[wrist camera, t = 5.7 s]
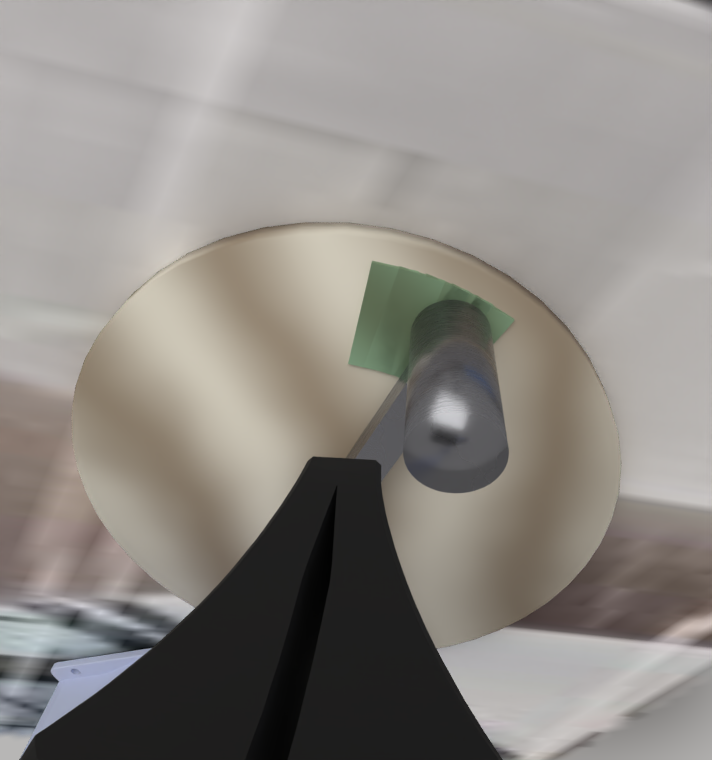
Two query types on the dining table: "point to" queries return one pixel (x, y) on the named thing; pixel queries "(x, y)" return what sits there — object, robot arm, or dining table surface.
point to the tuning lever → (443, 405)
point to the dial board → (337, 417)
